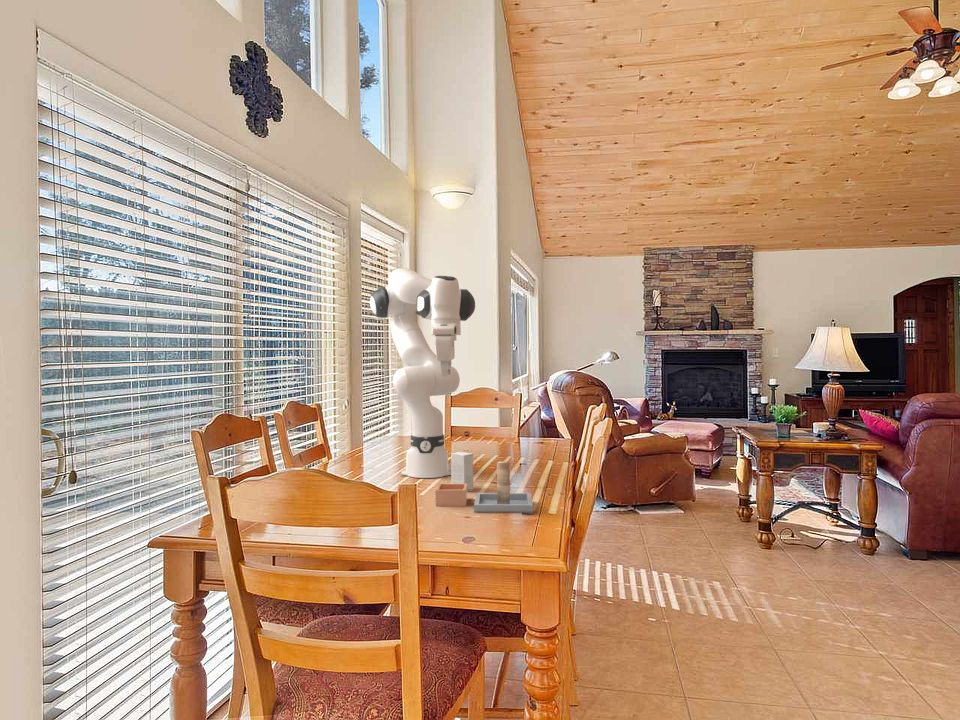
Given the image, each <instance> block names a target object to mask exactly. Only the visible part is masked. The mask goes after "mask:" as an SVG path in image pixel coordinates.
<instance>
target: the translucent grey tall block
mask: <svg viewBox="0 0 960 720" xmlns="http://www.w3.org/2000/svg"><path fill="white" fill-rule="evenodd" d="M510 464H511V463H510V462H509V461H497V462H496V493H497V504H510V493H511V491H510V490H511V486H510V485H511V484H510V483H511V482H510V481H511V478H510V475H511V474H510V473H511V472H510V466H511V465H510Z"/></svg>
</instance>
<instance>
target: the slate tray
mask: <svg viewBox="0 0 960 720" xmlns="http://www.w3.org/2000/svg"><path fill="white" fill-rule="evenodd" d="M473 504H474V505H473V507H474V508H473V512H474V513H475V514H476V513H478V514H479V513H481V514H482V513H483V514H484V513H485V514H486V513H489V514H491V513H495V514H499V513H501V514H503V513H504V514H505V513H507V514H508V513H511V514H518V513H519V514H520V513H521V515H533V514H534V505H533V497H532V494H531V492H510V504H497V492H476V494H475V499H474V503H473Z"/></svg>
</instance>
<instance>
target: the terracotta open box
mask: <svg viewBox="0 0 960 720" xmlns="http://www.w3.org/2000/svg"><path fill="white" fill-rule="evenodd" d="M468 497H469V496H468V492H467V484H452V483H438V484H437V486H436V488H435V507H466V506H467V503H468Z"/></svg>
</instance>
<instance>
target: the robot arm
mask: <svg viewBox="0 0 960 720" xmlns="http://www.w3.org/2000/svg"><path fill="white" fill-rule="evenodd" d="M387 283H388V285H386V286H384V287H383V285H381V286H379V288H377V289H375V290H374V291H373V292H372V293H371V295H370V297H369V306H370V309H371V311H372V313H373V315H374V316H375V317H377V318H378V319H385V318H386V319H387V318H388V317H391V319H390V321H389V328H390V335H391V338H392V341H393V344H394V345H395V347H396V350H397V352H398V355H399V358H400V360H401V362H403V364H405V365H406V366H405V367H401V368H398V369H397V370H396V371H395V372H394V374H393V377H392V386H393V389H394V391H395V393H397V394H398V396H399V397H401V398H403V400H404V401H405V404H407V407H408V409H409V412H410V419H411V435H410V439H409V440H410V448H409V449H408V450H407V451H406V462H405V463H406V464H405V465H406V466H405V469H403V470H402V471H401V475H403V476H408V477H411V478H416V479H418V478H419V479H433V478H436V479H437V478H441V477H445V476H451V460H449V451H448V449H446V447H445V439H446V438H445V434H444V425H443V424H444V416H443V413H442V411H441V410H440V409H438V407H437V406H436V407H435V406H434V405H432V402H431V399H430V397H435V396H437V397H438V396H446V395H448V394H452V393H454V392H456V391H457V390H458V388H459V386H460V378H461V377H460V375H459V372H458V370H457V369H456V368H455V367H453V366H452V360H454V359H455V356H456V354H455V351H456V350H455V349H456V348H455V341H457V336H461V334H462V333H461V331H462V329H461V328H462V327H461V321H462V322H465V321H466V322H467V320H468V319H470V318H471V316H472V315H473V314H474V312H475V309H476V300H475V298H474V296H473V294H472V293H471V292H470V291H469V290H468V289H466V288H465V289H463V288H462V289H461V288H460V283H459V280H458V278H457V277H455V276H451V275H435V276H434V277H432V279H430V278H428V277H426V276H424V275H422V274H420V273H419V272H416V271H414V270H412V269H409V268H404V267H401V268H400V267H399V268H396V269H394V270H393V271H391V272H390V274H389V276H388V279H387ZM417 315H418V316H420V317H421V318H423V319H426V320H430V323H431V324H430V334H431V336H434V346H435V352H434V351H433V350H432V349H431V347H430V346H429V344H428V342H427V340H426V338H425V335H424V333H423V331H422V329H421V326H420V325H419V323H418V322H417V317H416V316H417Z"/></svg>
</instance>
